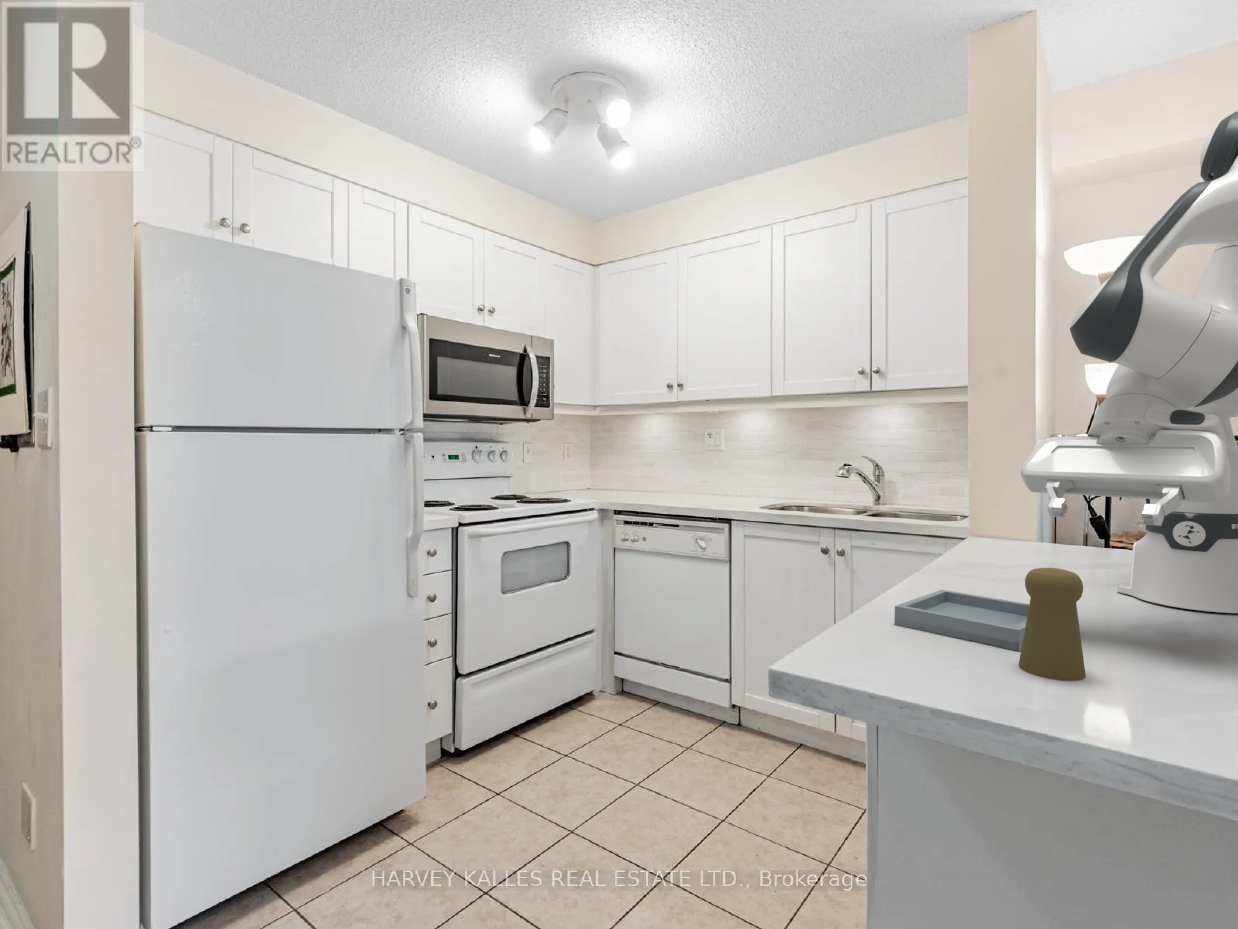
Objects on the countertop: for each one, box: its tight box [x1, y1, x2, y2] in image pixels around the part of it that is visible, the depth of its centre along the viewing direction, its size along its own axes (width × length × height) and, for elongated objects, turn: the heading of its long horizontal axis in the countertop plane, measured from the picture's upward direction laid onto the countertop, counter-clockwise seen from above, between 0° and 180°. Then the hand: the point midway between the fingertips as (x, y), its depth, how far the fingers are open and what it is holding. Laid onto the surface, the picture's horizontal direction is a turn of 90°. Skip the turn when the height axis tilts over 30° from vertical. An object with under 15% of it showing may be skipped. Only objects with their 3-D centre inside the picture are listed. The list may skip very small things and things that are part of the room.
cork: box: [1018, 567, 1087, 682], centre depth 70 cm, size 6×6×11 cm
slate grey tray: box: [894, 589, 1030, 652], centre depth 87 cm, size 15×15×2 cm
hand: (1100, 517), depth 76 cm, fingers open, 8 cm apart
